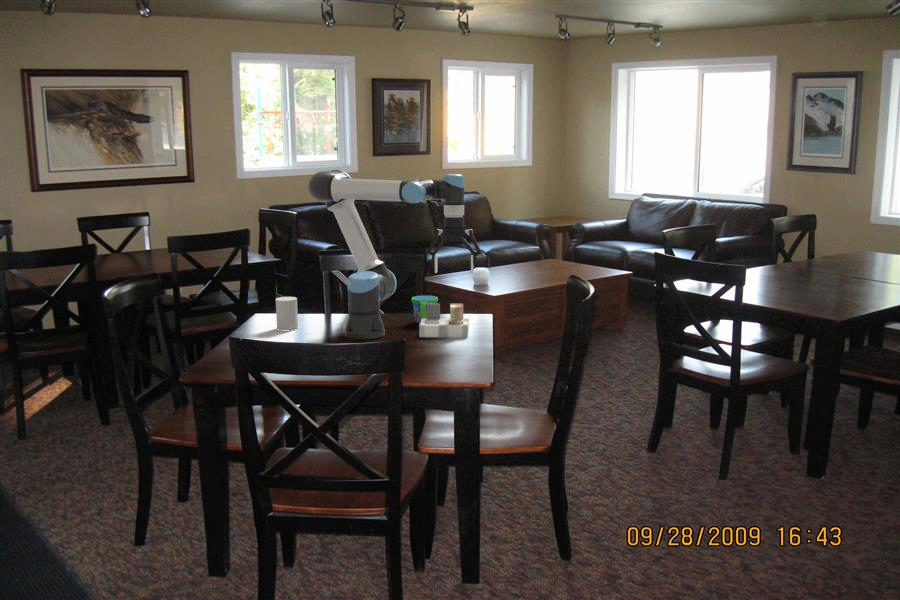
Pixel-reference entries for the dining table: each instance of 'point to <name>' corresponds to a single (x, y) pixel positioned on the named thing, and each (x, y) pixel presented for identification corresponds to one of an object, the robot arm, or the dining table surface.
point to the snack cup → (422, 306)
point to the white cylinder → (286, 313)
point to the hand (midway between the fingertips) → (454, 272)
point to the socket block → (442, 324)
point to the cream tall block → (455, 314)
